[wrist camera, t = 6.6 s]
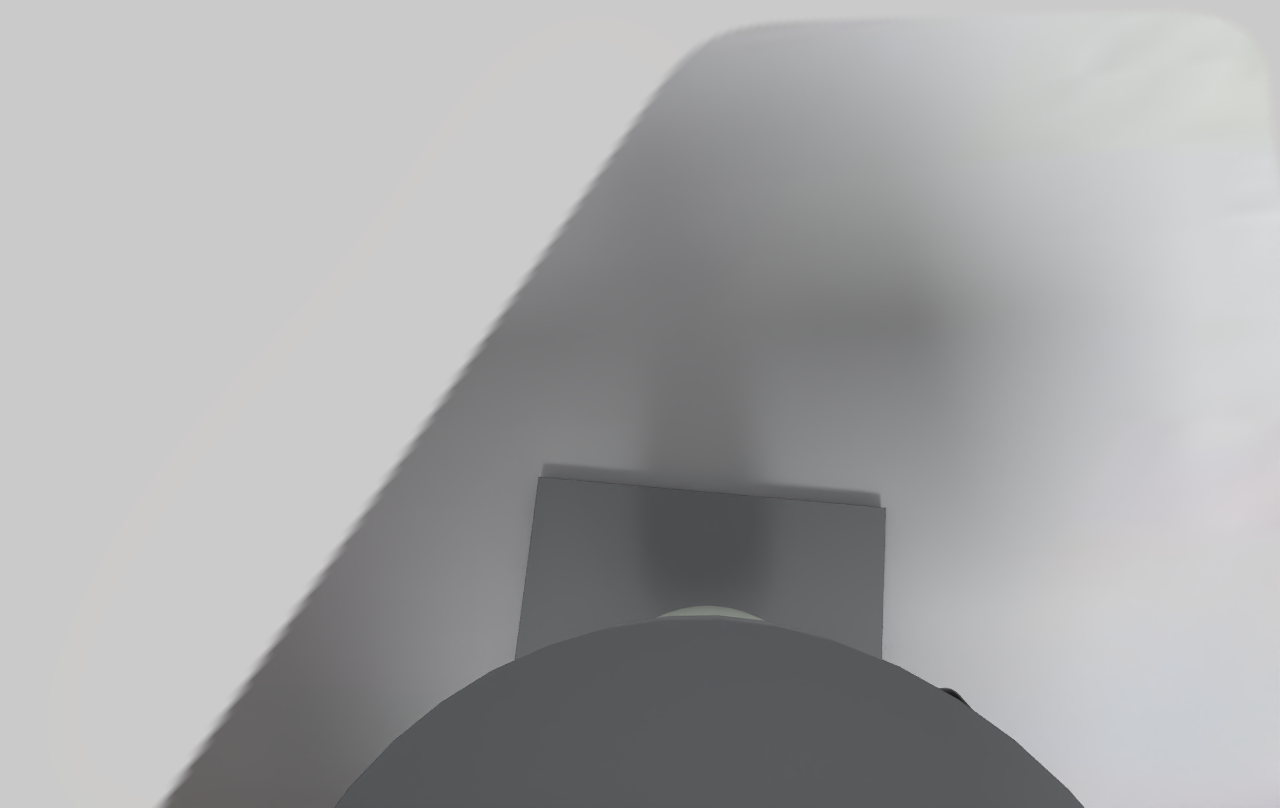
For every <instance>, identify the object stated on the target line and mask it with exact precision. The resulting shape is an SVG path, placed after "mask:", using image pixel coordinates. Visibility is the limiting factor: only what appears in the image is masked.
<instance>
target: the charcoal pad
mask: <svg viewBox="0 0 1280 808" xmlns="http://www.w3.org/2000/svg"><path fill="white" fill-rule="evenodd" d="M885 518H886V508H881V507H870V506H859V505H848V504H836V503H825V502H814V501H803V500H792V499H780V498H769V497H758V496H747V495H736V494H724V493H713V492H702V491H691V490H679V489H668V488H657V487H646V486H635V485H623V484H612V483H601V482H590V481H579V480H567V479H556V478H545V477H539V479H538V487H537V495H536V502H535V510H534V518H533V525H532V533H531V541H530V548H529V556H528V564H527V571H526V579H525V587H524V594H523V602H522V610H521V617H520V625H519V633H518V640H517V648H516V656H515V660H517V659H519V658H521V657H523V656H526V655H528V654H530V653H532V652H535V651H537V650H539V649H541V648H543V647H546V646H549V645H552V644H555V643H558V642H561V641H564V640H567V639H571V638H574V637H577V636H580V635H584V634H587V633H590V632H594V631H597V630H601V629H604V628H607V627H611V626H614V625H617V624H621V623H626V622H633V621H639V620H646V619H653V618H657V617H659V616H661V615H664V614H666V613H669V612H672V611H675V610H679V609H682V608H688V607H695V606H719V607H727V608H732V609H736V610H740V611H743V612H746V613H749V614H751V615H754V616H756V617H759V618H761V619H763V620H765V621H768V622H772V623H776V624H780V625H784V626H788V627H792V628H796V629H799V630H803V631H807V632H811V633H815V634H818V635H820V636H823V637H826V638H828V639H831V640H834V641H836V642H839V643H841V644H844V645H846V646H849V647H851V648H854V649H856V650H859V651H861V652H864V653H866V654H869V655H871V656H874V657H876V658H879V659H881V660H882V628H883V591H884V555H885Z"/></svg>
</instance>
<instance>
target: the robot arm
mask: <svg viewBox="0 0 1280 808" xmlns="http://www.w3.org/2000/svg"><path fill="white" fill-rule="evenodd" d="M939 689H940V690H942V691H944V692H946V693H948V694H949V695H951V696H953V697H955V698H957V699H958V700H960V701H961V702H962V703H964V704H965V705H967V706H968V707H969V708H971V707H970V706H969V705H968V704H967V703H966V702H965V701H964V699H963V698H962V697H961V696H960V695H959V694H958V693H957V692H956V691H954V690H952V689H949V688H939Z"/></svg>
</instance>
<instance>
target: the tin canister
mask: <svg viewBox="0 0 1280 808" xmlns="http://www.w3.org/2000/svg"><path fill="white" fill-rule="evenodd" d="M335 808H1084V807H1083V806H1082V804H1081V803H1080V802H1079V801H1078V800H1077V799H1076V798H1075V796H1074V795H1073V794H1072V793H1071V792H1070V791H1069V790H1068V789H1067V788H1066V787H1065V786H1064V785H1063V784H1062V783H1061V782H1060V781H1059V780H1058V779H1056V778H1055V777H1054V776H1053V775H1052V774H1051V773H1050V772H1049V771H1048V770H1047V769H1046V768H1044V767H1043V766H1042V765H1041V764H1040V763H1039V762H1038V761H1037V760H1036V759H1035V758H1034V757H1032V756H1031V755H1030V754H1029V753H1028V752H1027V751H1026V750H1025V749H1024V748H1023V747H1021V746H1020V745H1019V744H1018V743H1017V742H1016V741H1015V740H1014V739H1012V738H1011V737H1010V736H1008V735H1007V734H1005V733H1004V732H1003V731H1001V730H1000V729H998V728H997V727H996V726H994V725H993V724H992V723H990V722H989V721H987V720H986V719H985V718H983V717H982V716H980V715H979V714H978V713H976V712H975V711H974V710H972V709H971V708H969V707H968V706H967V705H965V704H964V703H962V702H961V701H960V700H958V699H957V698H955V697H953V696H951V695H949V694H948V693H946V692H944V691H942V690H940V689H939V688H937V687H935V686H933V685H931V684H930V683H928V682H926V681H924V680H922V679H921V678H919V677H917V676H915V675H913V674H911V673H910V672H908V671H906V670H904V669H902V668H901V667H899V666H896V665H894V664H891V663H889V662H886V661H884V660H881V659H879V658H876V657H874V656H871V655H869V654H866V653H864V652H861V651H859V650H856V649H854V648H851V647H849V646H846V645H844V644H841V643H839V642H836V641H834V640H831V639H828V638H826V637H823V636H820V635H818V634H815V633H811V632H807V631H803V630H799V629H796V628H792V627H788V626H784V625H780V624H776V623H772V622H768V621H765V620H763V619H761V618H759V617H756V616H754V615H751V614H749V613H746V612H743V611H740V610H736V609H732V608H727V607H719V606H695V607H688V608H682V609H679V610H675V611H672V612H669V613H666V614H664V615H661V616H659V617H657V618H653V619H646V620H639V621H633V622H626V623H621V624H617V625H614V626H611V627H607V628H604V629H601V630H597V631H594V632H590V633H587V634H584V635H580V636H577V637H574V638H571V639H567V640H564V641H561V642H558V643H555V644H552V645H549V646H546V647H543V648H541V649H539V650H537V651H535V652H532V653H530V654H528V655H526V656H523V657H521V658H519V659H517V660H515V661H512V662H510V663H508V664H506V665H503V666H501V667H499V668H497V669H495V670H492V671H491V672H489V673H488V674H486V675H484V676H483V677H481V678H479V679H478V680H476V681H475V682H473V683H471V684H470V685H468V686H467V687H465V688H463V689H462V690H460V691H459V692H457V693H455V694H454V695H452V696H450V697H449V698H447V699H446V700H444V701H442V702H441V703H440V704H439V705H437V706H436V707H435V708H434V709H432V710H431V711H430V712H429V713H427V714H426V715H425V716H424V717H423V718H421V719H420V720H419V721H418V722H416V723H415V724H414V725H413V726H412V727H410V728H409V729H408V730H407V731H405V732H404V733H403V734H402V735H401V736H399V737H398V738H397V739H396V740H394V741H393V742H392V743H391V744H390V746H389V747H388V748H387V749H386V750H385V751H384V752H383V753H382V754H381V755H380V756H379V757H378V758H377V759H376V760H375V761H374V762H373V763H372V764H371V765H370V766H369V768H368V769H367V770H366V771H365V772H364V773H363V774H362V775H361V776H360V777H359V778H358V779H357V780H356V781H355V782H354V783H353V784H352V785H351V786H350V788H349V789H348V790H347V792H346V793H345V794H344V796H343V797H342V798H341V800H340V801H339V802H338V804H337V805H336V806H335Z"/></svg>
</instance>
